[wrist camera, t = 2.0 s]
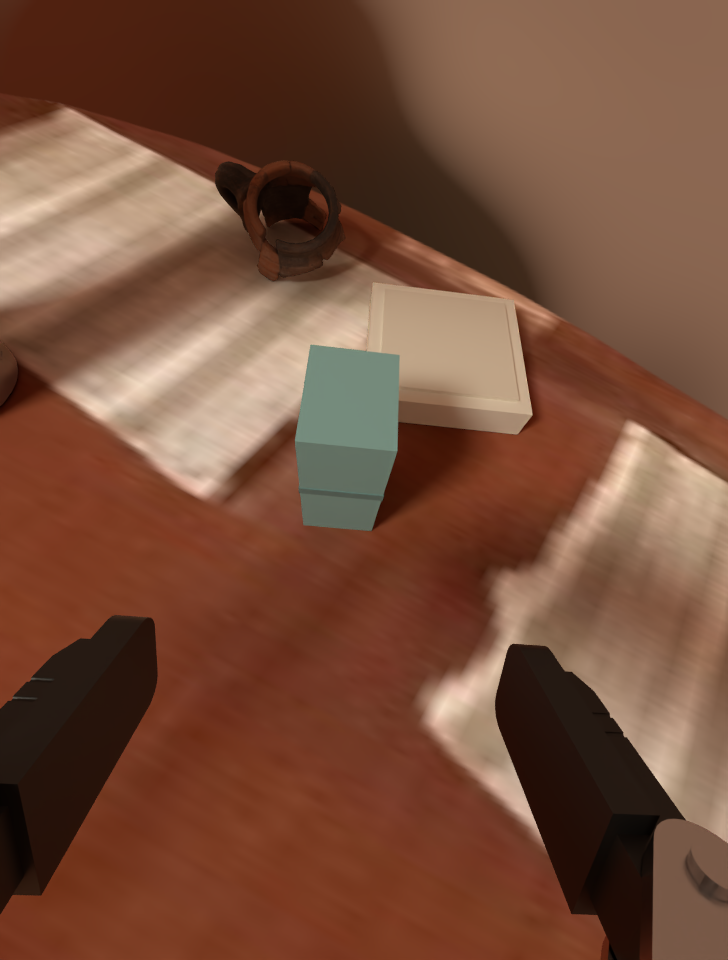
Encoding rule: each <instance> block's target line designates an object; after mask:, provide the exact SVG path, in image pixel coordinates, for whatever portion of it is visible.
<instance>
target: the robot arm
mask: <svg viewBox="0 0 728 960" xmlns="http://www.w3.org/2000/svg"><path fill="white" fill-rule="evenodd" d="M17 376H18V367H17V361H16V359H15V358H14V356H13V354H12V352H11V351H10V350H9V349H8V348H7V347H6V346H5V345H4V344H3V343H2V342H1V340H0V406H1V405H2V404H3V403H4V402H5V401H6V399H7V398H8V396H9V395H10V394H11V392H12V391H13V388H14V386H15V384H16V381H17ZM156 684H157V655H156V638H155V624H154V621H153V619H152V618H149V617H135V616H121V615H114V616H112V617H110V618H109V619H108V620H107V621H106V622H105V623H104V625H103V626H102V627H101V628H100V629H99V630H98V631H97V632H96V633H95V634H94V636H93V637H92V638H91V639H81V638H80V639H79V640H77V641H76V642H74V643H72V644H71V645H69V646H68V647H66V648H64V649H63V650H61V651H59V652H58V653H56V654H55V655H53V656H52V657H51V658H50V659H49V660H48V661H47V662H46V663H45V664H44V665H43V666H42V667H41V668H40V669H39V670H38V671H37V672H36V673H35V674H34V675H33V676H32V677H31V681H30V682H26V683H25V684H24V685H23V686H22V687H21V688H20V690H19V691H18V692H17V693H16V694H15V695H14V696H13V699H12V700H11V701H8V702H7V703H6V704H5V705H4V706H3V707H2V708H1V709H0V914H1V913H2V911H3V909H4V908H5V906H6V904H7V903H8V901H9V900H10V898H11V896H12V895H42V893H43V891H44V889H45V888H46V886H47V884H48V882H49V881H50V879H51V877H52V875H53V874H54V872H55V870H56V868H57V867H58V865H59V863H60V861H61V860H62V858H63V856H64V854H65V853H66V851H67V849H68V847H69V846H70V844H71V842H72V840H73V839H74V837H75V835H76V833H77V832H78V830H79V828H80V826H81V825H82V823H83V821H84V819H85V818H86V816H87V814H88V812H89V810H90V809H91V807H92V805H93V803H94V802H95V800H96V798H97V796H98V795H99V793H100V791H101V789H102V788H103V786H104V784H105V782H106V781H107V779H108V777H109V775H110V774H111V772H112V770H113V768H114V767H115V765H116V763H117V761H118V760H119V758H120V756H121V754H122V753H123V751H124V749H125V747H126V746H127V744H128V742H129V740H130V739H131V737H132V735H133V733H134V732H135V730H136V728H137V726H138V725H139V723H140V721H141V719H142V718H143V716H144V714H145V712H146V710H147V709H148V707H149V705H150V703H151V701H152V698H153V695H154V692H155V688H156ZM495 711H496V719H497V723H498V726H499V729H500V732H501V734H502V737H503V739H504V742H505V745H506V747H507V750H508V752H509V755H510V757H511V760H512V763H513V765H514V768H515V770H516V773H517V775H518V778H519V780H520V783H521V786H522V788H523V791H524V793H525V796H526V798H527V801H528V804H529V806H530V809H531V811H532V814H533V816H534V819H535V821H536V824H537V827H538V829H539V832H540V834H541V837H542V839H543V842H544V844H545V847H546V850H547V852H548V855H549V857H550V860H551V862H552V865H553V868H554V870H555V873H556V875H557V878H558V880H559V883H560V885H561V888H562V891H563V893H564V896H565V898H566V901H567V903H568V906H569V909H570V911H571V914H588V915H598V917H599V920H600V922H601V924H602V926H603V929H604V931H605V933H606V937H605V939H604V941H603V945H602V950H601V960H728V843H726V842H725V841H724V840H722V839H721V838H720V837H718V836H717V835H715V834H713V833H712V832H710V831H709V830H707V829H705V828H703V827H701V826H699V825H697V824H694V823H692V822H689V821H686V820H685V818H684V817H683V816H682V814H681V813H680V812H679V810H678V809H677V807H676V806H675V805H674V803H673V802H672V800H671V799H670V797H669V796H668V795H667V793H666V792H665V790H664V789H663V788H662V786H661V785H660V783H659V782H658V781H657V779H656V778H655V776H654V775H653V774H652V772H651V771H650V769H649V768H648V767H647V765H646V764H645V762H644V761H643V760H642V758H641V757H640V755H639V754H638V753H637V751H636V750H635V748H634V747H633V745H632V744H631V743H630V741H629V740H628V738H626V737H624V736H623V731H622V730H621V729H620V727H619V726H618V724H617V723H616V722H615V720H614V719H613V718H610V713H609V712H608V710H607V709H606V708H605V706H604V705H603V703H602V702H601V700H600V699H599V698H598V696H597V695H596V693H595V692H594V691H593V690H592V689H591V688H590V687H588V686H587V685H586V684H585V683H584V682H583V681H582V680H580V679H579V678H578V677H577V676H576V675H575V674H573V673H572V672H565V671H564V670H563V668H562V667H561V665H560V664H559V662H558V661H557V659H556V658H555V656H554V655H553V653H552V652H551V651H550V649H549V648H548V647H546V646H538V645H523V644H512V645H510V647H509V648H508V651H507V654H506V658H505V662H504V666H503V670H502V674H501V678H500V682H499V686H498V690H497V693H496V699H495Z"/></svg>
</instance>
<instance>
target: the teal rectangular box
mask: <svg viewBox="0 0 728 960" xmlns="http://www.w3.org/2000/svg"><path fill="white" fill-rule="evenodd" d="M399 361H400V355H396V354H387V353H379V352H370V351H361V350H352V349H344V348H335V347H326V346H318V345H310V351H309V358H308V364H307V370H306V376H305V382H304V389H303V395H302V401H301V407H300V413H299V419H298V426H297V432H296V438H295V446H296V456H297V466H298V476H299V493H300V495H301V505H302V515H303V525H310V526H321V527H332V528H344V529H355V530H366V531H372V528H373V525H374V522H375V519H376V515H377V512H378V509H379V506H380V503H381V501H383V498H384V491H385V488H386V485H387V482H388V479H389V476H390V473H391V470H392V467H393V464H394V460H395V457H396V454H397V448H398V405H399Z"/></svg>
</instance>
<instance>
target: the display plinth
mask: <svg viewBox="0 0 728 960" xmlns="http://www.w3.org/2000/svg"><path fill="white" fill-rule="evenodd" d="M366 351H370V352H379V353H387V354H396V355H400V361H399V405H398V422H403V423H413V424H422V425H432V426H441V427H451V428H460V429H470V430H479V431H489V432H498V433H508V434H518V433H519V432H520V431H521V429H522V428H523V427H524V425H525V424H526V423H527V422H528V420H529V419H530V418H531V416H532V415H533V414H532V408H531V402H530V396H529V390H528V384H527V378H526V372H525V366H524V359H523V353H522V347H521V341H520V335H519V329H518V323H517V317H516V311H515V305H514V300H511V299H503V298H495V297H487V296H479V295H471V294H463V293H455V292H447V291H439V290H431V289H423V288H415V287H407V286H399V285H391V284H383V283H375V282H373V285H372V293H371V300H370V309H369V322H368V336H367V349H366Z"/></svg>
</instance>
